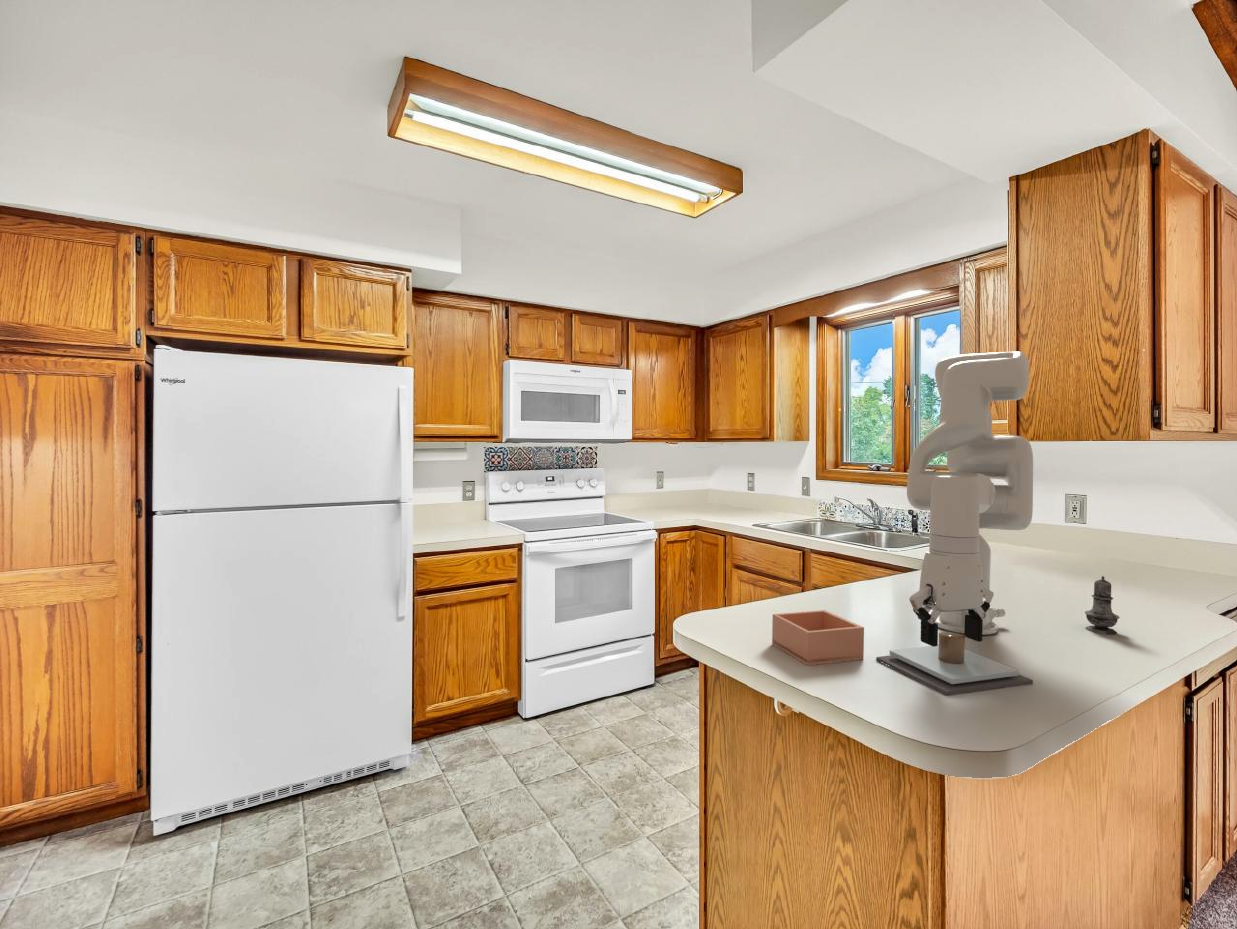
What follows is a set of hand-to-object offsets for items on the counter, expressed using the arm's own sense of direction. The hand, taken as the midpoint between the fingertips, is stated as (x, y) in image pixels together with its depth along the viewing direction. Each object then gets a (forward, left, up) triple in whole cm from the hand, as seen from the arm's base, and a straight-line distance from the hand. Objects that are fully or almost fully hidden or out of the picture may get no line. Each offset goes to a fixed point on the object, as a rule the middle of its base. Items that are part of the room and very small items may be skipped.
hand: (951, 641), depth 103 cm
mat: (0, 0, -5) cm, 5 cm away
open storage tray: (+17, -15, -5) cm, 23 cm away
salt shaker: (-51, -10, -5) cm, 52 cm away
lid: (0, 0, -4) cm, 4 cm away
